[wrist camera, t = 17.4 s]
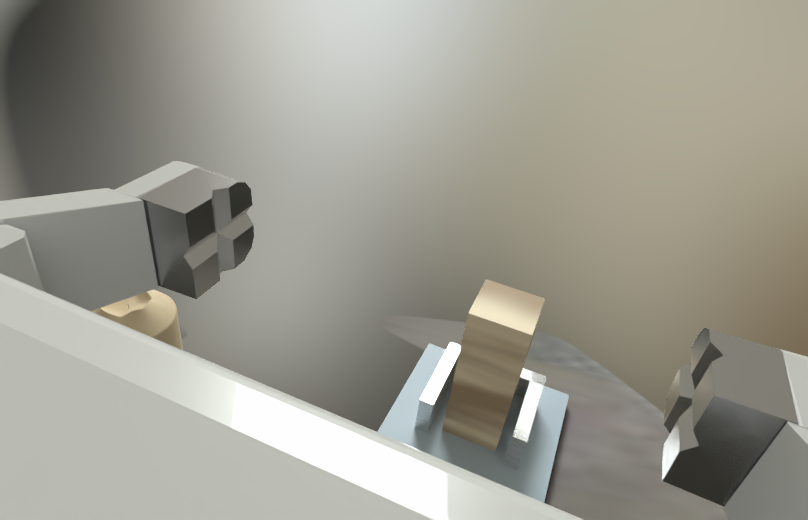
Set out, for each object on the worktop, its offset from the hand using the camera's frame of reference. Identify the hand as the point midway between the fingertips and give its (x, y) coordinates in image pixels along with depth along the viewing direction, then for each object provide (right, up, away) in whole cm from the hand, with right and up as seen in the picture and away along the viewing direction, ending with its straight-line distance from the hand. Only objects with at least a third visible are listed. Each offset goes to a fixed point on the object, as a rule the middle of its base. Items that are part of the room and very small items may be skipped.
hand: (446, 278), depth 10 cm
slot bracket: (+5, -11, +32) cm, 34 cm away
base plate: (+4, -12, +32) cm, 35 cm away
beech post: (+5, -12, +32) cm, 34 cm away
